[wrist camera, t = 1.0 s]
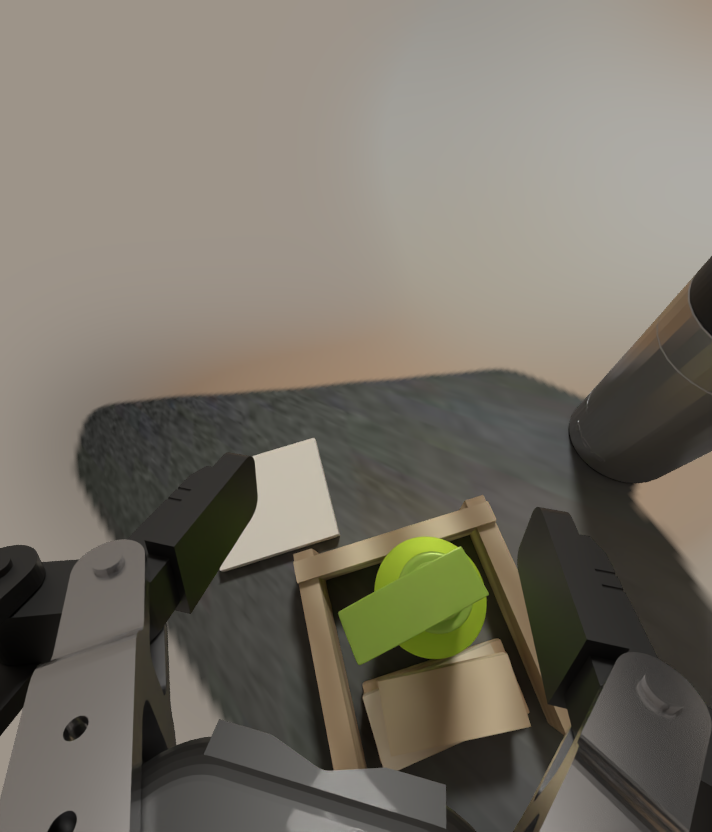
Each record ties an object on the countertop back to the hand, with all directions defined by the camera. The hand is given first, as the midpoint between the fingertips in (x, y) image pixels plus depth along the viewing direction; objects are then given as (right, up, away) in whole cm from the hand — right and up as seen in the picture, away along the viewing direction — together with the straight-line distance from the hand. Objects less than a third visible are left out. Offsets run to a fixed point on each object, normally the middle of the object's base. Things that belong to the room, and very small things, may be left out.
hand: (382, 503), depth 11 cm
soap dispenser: (+4, -13, +21) cm, 25 cm away
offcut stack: (+6, -19, +17) cm, 26 cm away
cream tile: (-9, -6, +26) cm, 28 cm away
